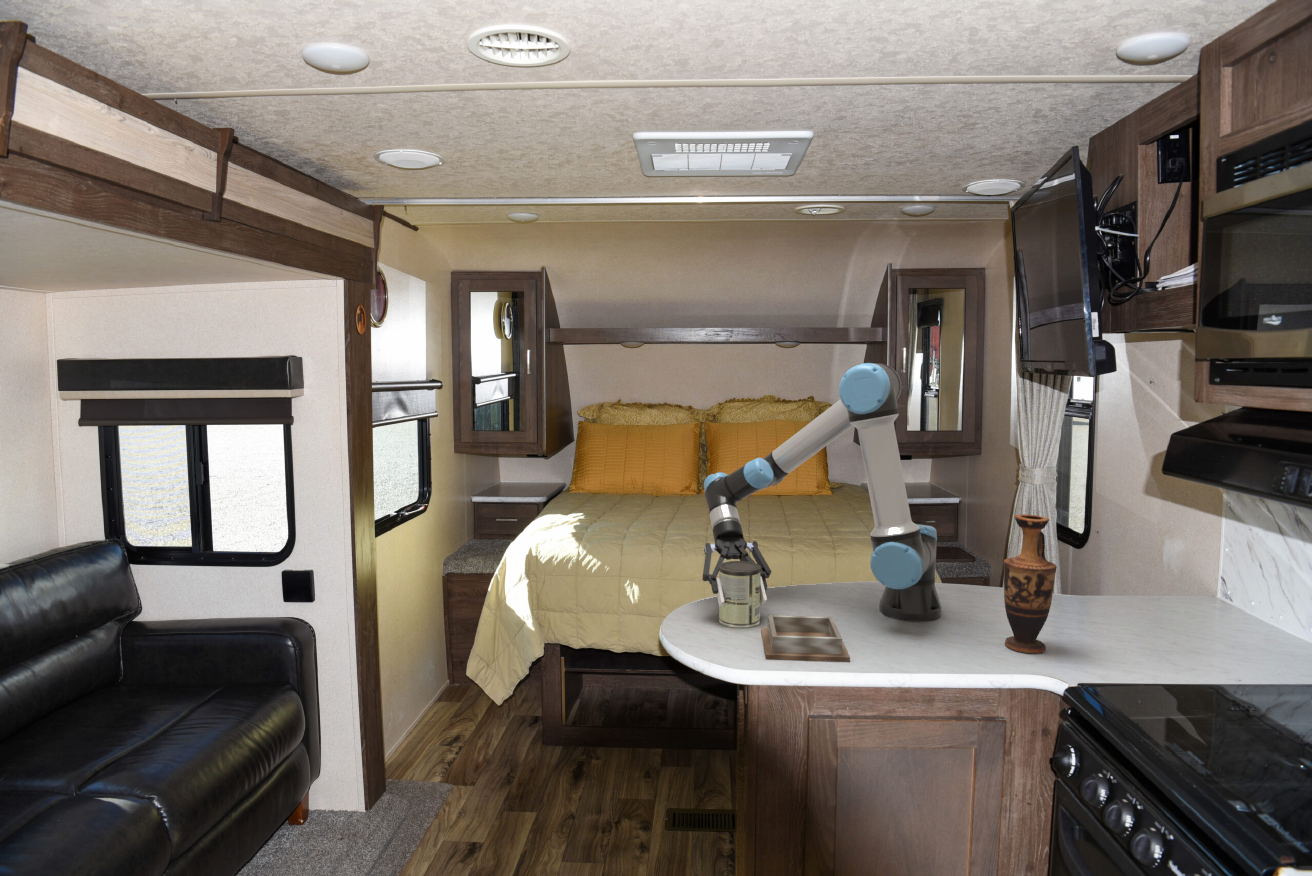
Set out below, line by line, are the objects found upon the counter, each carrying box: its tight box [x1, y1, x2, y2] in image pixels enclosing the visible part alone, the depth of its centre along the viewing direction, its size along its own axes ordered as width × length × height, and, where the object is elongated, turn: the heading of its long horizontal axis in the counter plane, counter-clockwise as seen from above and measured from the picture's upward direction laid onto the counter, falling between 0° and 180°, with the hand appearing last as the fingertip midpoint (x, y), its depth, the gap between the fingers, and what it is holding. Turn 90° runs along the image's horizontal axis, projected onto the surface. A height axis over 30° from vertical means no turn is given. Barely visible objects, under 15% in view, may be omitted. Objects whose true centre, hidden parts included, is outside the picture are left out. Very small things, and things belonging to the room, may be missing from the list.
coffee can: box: [718, 560, 761, 629], centre depth 200 cm, size 10×10×14 cm
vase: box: [1003, 513, 1058, 654], centre depth 182 cm, size 11×11×30 cm
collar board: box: [760, 614, 851, 663], centre depth 184 cm, size 18×18×4 cm
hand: (743, 603), depth 197 cm, fingers closed on coffee can, 10 cm apart
